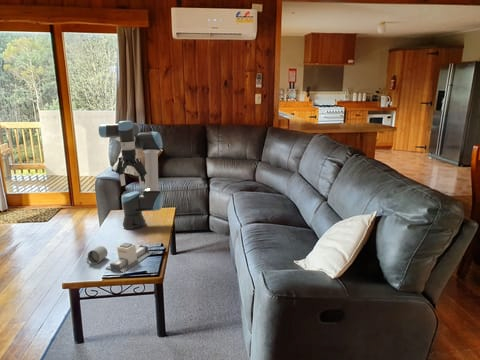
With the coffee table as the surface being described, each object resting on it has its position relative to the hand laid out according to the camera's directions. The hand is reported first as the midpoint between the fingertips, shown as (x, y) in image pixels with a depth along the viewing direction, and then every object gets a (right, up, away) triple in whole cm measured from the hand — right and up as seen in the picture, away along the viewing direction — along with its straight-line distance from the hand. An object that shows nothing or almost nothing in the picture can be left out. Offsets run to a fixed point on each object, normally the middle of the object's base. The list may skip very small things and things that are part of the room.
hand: (132, 186), depth 197 cm
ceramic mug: (-17, -41, -8) cm, 45 cm away
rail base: (+2, -40, -9) cm, 41 cm away
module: (+1, -40, -11) cm, 42 cm away
